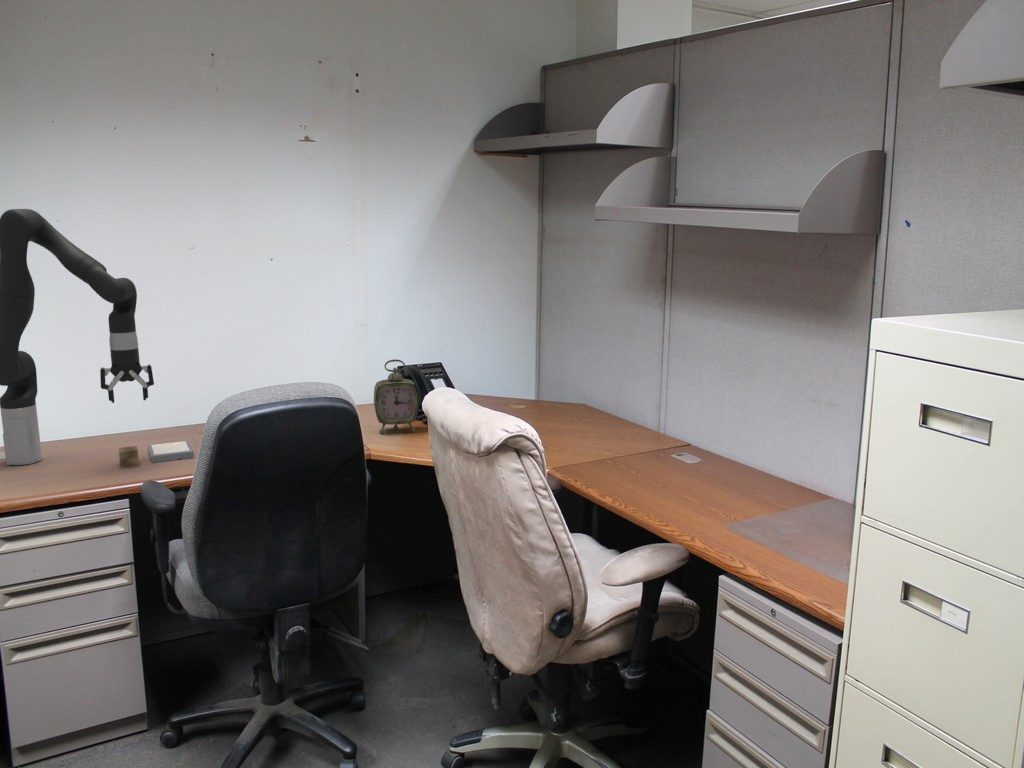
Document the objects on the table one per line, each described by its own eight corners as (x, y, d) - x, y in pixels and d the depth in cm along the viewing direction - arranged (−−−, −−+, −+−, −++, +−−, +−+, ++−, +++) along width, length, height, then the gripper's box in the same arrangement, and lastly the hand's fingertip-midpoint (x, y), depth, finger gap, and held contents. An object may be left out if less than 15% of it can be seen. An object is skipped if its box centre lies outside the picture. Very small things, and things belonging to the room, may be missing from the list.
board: (151, 463, 251) (150, 455, 251) (148, 451, 264) (147, 444, 263) (194, 457, 257) (193, 450, 256) (188, 446, 269) (188, 440, 269)
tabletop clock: (376, 435, 283) (373, 362, 277) (374, 429, 291) (371, 358, 286) (419, 433, 286) (417, 360, 281) (415, 426, 294) (414, 356, 289)
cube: (120, 468, 246) (119, 452, 245) (119, 464, 251) (118, 447, 250) (139, 466, 249) (137, 450, 248) (138, 461, 253) (136, 445, 252)
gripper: (96, 350, 239) (102, 406, 242) (151, 347, 245) (155, 401, 248) (97, 346, 246) (102, 400, 249) (150, 343, 251) (154, 396, 255)
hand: (129, 401), depth 248 cm, fingers open, 8 cm apart
